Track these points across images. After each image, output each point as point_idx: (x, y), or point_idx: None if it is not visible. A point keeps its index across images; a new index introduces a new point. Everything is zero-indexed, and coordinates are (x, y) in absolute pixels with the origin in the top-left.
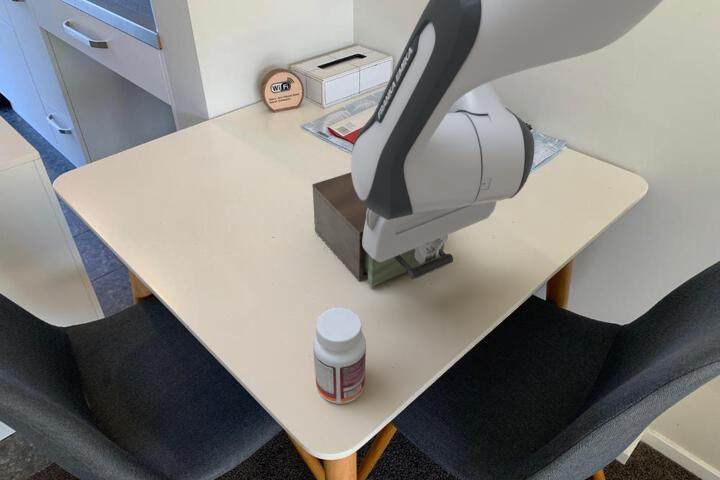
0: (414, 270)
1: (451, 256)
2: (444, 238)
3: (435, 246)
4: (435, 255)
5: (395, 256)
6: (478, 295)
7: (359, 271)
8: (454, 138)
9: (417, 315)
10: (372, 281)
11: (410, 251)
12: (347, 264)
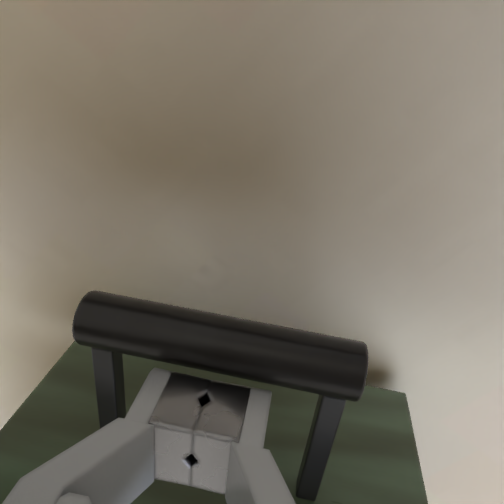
0: (345, 386)
1: (78, 322)
2: (46, 495)
3: (137, 450)
4: (167, 388)
5: (319, 481)
6: (80, 104)
7: None
8: None
9: (375, 191)
10: (408, 413)
11: None
12: None
